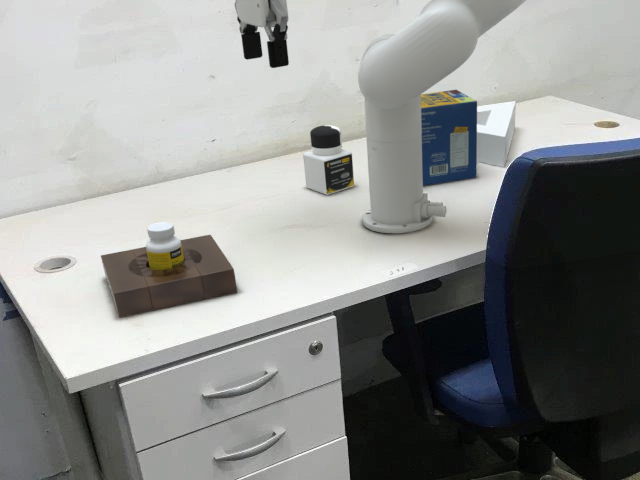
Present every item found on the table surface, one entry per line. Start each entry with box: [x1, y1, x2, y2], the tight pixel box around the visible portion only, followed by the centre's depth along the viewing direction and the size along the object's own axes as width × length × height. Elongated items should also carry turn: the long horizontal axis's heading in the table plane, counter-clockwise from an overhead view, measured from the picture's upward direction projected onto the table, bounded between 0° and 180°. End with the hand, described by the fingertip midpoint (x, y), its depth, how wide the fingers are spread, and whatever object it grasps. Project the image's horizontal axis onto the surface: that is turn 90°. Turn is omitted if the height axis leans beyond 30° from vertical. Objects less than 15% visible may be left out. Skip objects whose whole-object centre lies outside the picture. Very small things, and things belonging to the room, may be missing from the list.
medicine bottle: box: [302, 124, 355, 196], centre depth 167 cm, size 7×7×12 cm
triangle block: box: [477, 100, 517, 168], centre depth 191 cm, size 30×26×6 cm
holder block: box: [100, 234, 238, 318], centre depth 133 cm, size 18×16×4 cm
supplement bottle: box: [145, 221, 184, 270], centre depth 131 cm, size 5×5×10 cm
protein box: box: [421, 89, 478, 187], centre depth 169 cm, size 10×15×16 cm
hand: (266, 62), depth 139 cm, fingers open, 9 cm apart
